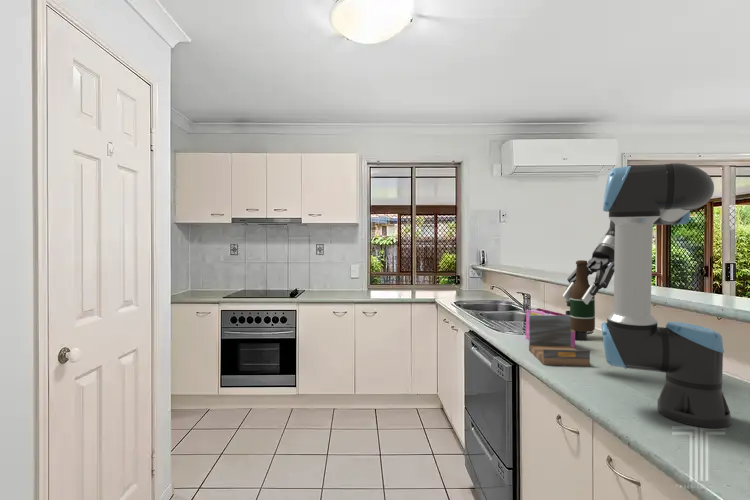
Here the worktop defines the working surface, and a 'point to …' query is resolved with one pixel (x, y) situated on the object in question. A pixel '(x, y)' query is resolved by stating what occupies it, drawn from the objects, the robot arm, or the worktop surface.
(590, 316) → the beer bottle
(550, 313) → the gum box
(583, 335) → the french press
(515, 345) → the worktop surface
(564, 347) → the shelf
